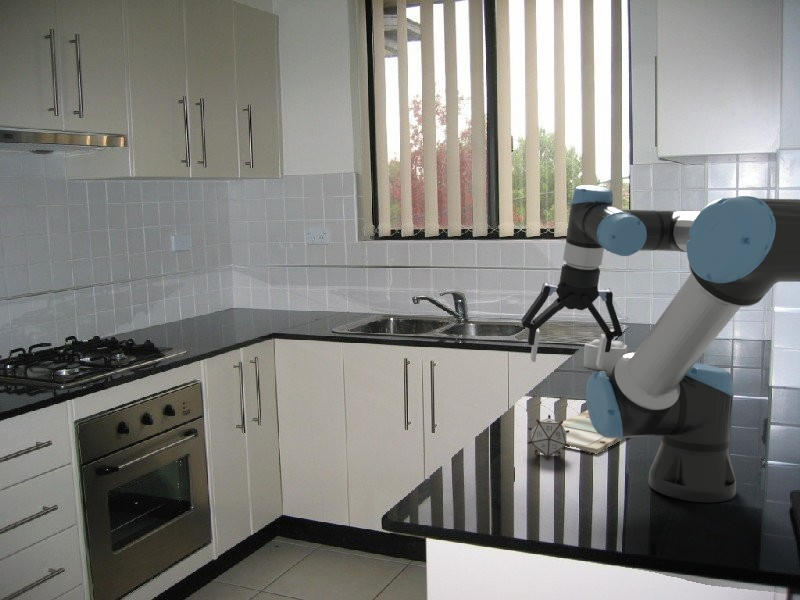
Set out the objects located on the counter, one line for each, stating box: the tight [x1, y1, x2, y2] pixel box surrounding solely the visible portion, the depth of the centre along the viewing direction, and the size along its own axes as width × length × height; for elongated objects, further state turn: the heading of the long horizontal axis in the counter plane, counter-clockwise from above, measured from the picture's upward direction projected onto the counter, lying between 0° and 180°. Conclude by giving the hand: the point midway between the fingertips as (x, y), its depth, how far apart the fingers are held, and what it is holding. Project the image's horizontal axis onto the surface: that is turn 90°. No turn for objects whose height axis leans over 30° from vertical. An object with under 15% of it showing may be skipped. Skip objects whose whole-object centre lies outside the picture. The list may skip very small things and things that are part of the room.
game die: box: [526, 414, 570, 461], centre depth 171 cm, size 9×8×10 cm
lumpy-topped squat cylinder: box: [583, 338, 628, 372], centre depth 266 cm, size 10×13×9 cm
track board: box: [561, 409, 627, 455], centre depth 192 cm, size 35×15×1 cm, turn 144°
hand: (565, 362), depth 173 cm, fingers open, 13 cm apart
